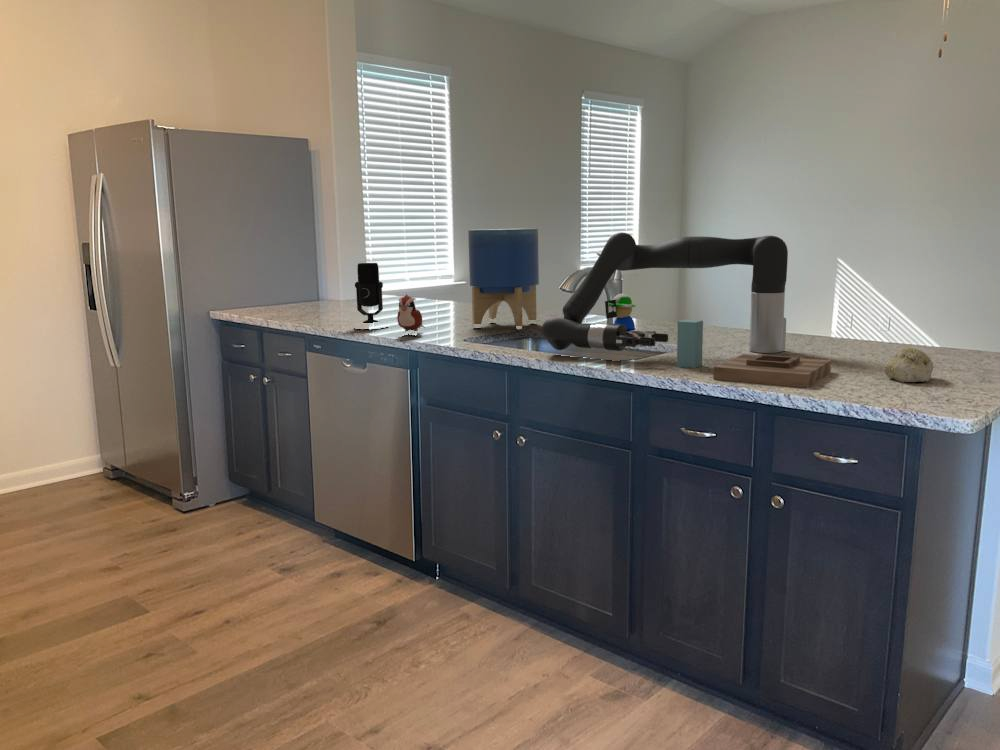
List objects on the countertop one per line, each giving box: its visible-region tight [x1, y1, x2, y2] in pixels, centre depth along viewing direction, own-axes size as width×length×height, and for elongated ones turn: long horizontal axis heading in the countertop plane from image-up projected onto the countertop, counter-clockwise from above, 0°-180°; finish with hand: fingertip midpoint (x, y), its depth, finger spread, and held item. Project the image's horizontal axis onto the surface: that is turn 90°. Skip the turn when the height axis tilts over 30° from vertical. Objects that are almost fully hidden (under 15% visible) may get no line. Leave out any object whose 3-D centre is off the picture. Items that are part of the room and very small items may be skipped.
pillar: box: [676, 319, 704, 369], centre depth 214 cm, size 5×5×12 cm
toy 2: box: [604, 293, 636, 332], centre depth 266 cm, size 9×9×15 cm
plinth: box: [712, 353, 832, 388], centre depth 198 cm, size 22×22×4 cm
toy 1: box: [396, 294, 426, 332], centre depth 288 cm, size 9×16×15 cm, turn 166°
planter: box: [467, 227, 540, 327], centre depth 305 cm, size 26×26×37 cm
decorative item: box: [883, 348, 935, 384], centre depth 190 cm, size 12×9×10 cm
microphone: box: [354, 262, 384, 323], centre depth 312 cm, size 14×14×25 cm
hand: (661, 340), depth 218 cm, fingers open, 8 cm apart
